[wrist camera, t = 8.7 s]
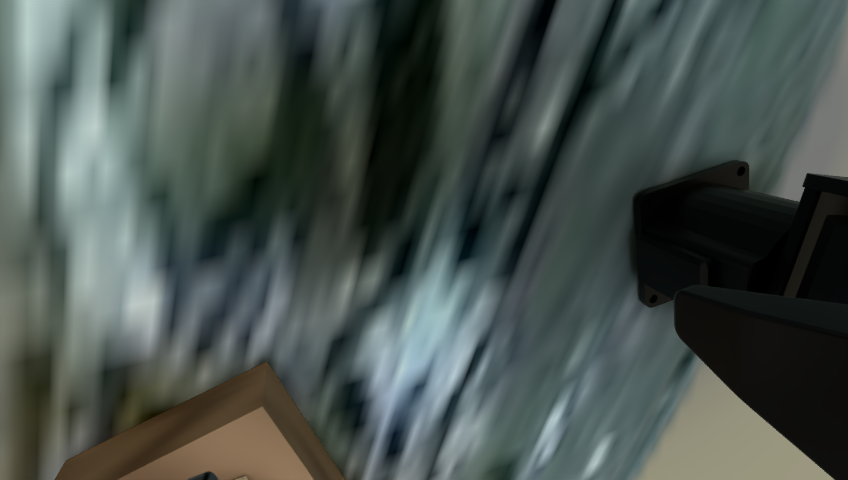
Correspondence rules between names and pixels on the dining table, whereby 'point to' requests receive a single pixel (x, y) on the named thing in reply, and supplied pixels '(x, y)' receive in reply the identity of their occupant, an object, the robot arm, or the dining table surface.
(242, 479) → the cube
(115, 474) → the walnut block
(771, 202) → the robot arm
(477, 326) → the dining table surface
